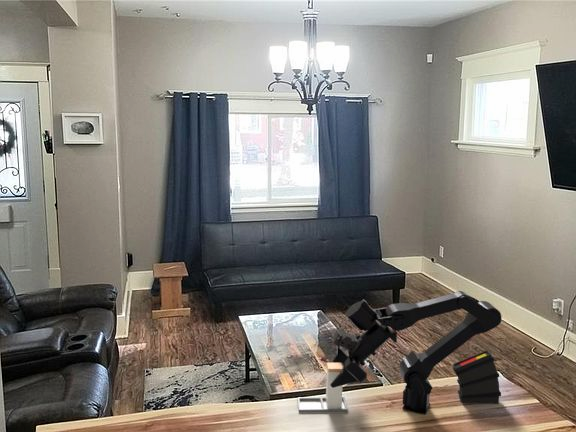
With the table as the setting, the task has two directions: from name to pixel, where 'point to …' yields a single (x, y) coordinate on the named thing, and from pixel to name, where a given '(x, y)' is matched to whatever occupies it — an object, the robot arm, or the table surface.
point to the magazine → (478, 379)
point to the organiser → (317, 405)
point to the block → (334, 393)
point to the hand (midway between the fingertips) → (329, 378)
